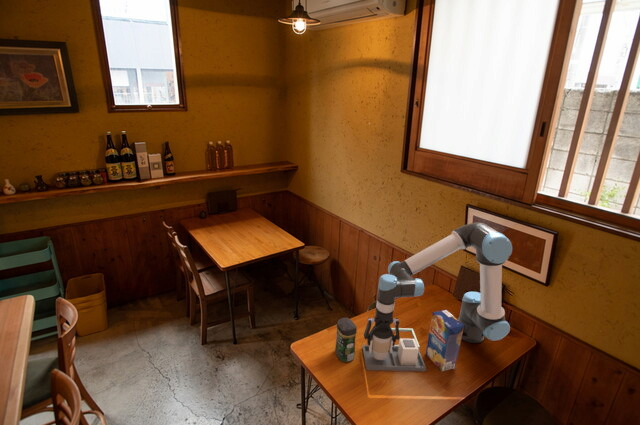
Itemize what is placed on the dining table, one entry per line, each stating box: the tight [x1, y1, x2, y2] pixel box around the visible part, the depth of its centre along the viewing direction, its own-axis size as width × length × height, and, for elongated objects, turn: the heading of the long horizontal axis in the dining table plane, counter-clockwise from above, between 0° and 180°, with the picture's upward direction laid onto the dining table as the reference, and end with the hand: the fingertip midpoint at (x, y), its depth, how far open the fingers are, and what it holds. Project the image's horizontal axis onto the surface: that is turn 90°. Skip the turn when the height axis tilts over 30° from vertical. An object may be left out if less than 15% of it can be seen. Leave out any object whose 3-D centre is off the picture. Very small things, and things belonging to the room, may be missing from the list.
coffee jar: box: [334, 317, 358, 363], centre depth 162 cm, size 10×8×19 cm
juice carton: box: [425, 309, 464, 372], centre depth 159 cm, size 12×8×24 cm, turn 20°
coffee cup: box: [371, 327, 392, 360], centre depth 159 cm, size 9×9×15 cm
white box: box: [397, 337, 420, 366], centre depth 161 cm, size 7×7×9 cm
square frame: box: [391, 327, 421, 349], centre depth 176 cm, size 14×14×2 cm
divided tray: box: [362, 344, 427, 372], centre depth 162 cm, size 26×14×3 cm, turn 91°
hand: (380, 350), depth 160 cm, fingers closed on coffee cup, 8 cm apart
